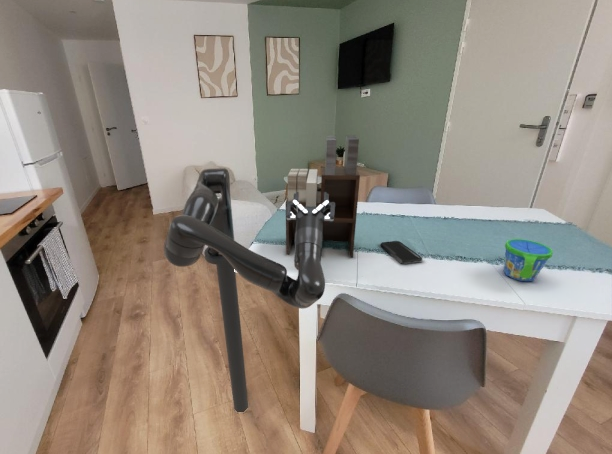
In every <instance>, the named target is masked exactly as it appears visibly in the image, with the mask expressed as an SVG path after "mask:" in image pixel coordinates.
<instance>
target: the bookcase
mask: <svg viewBox="0 0 612 454" xmlns="http://www.w3.org/2000/svg"><path fill="white" fill-rule="evenodd" d="M337 141H338V140H337V137H336V135H326V136H325V162H324V163H325V164H324V166H321V176H320V177H321V180H320V191H318V190H317V199H316V207H318V206H319V205H320V204H322V203H323V202H324V192H327V193H326V194H329V202H335V212H334V222H333V223H330V221H326V220H324V222H323V239H322V242H337V243H338V242H340V243H347V248H348V253H349V254H348V255H349V258H350V259H353V258H354V251H355V250H354V249H355V238H356V237H355V236H356V227H357V226H356V224H357V212H358V204H359V203H358V202H359V191H360V179H361V174H360V172H359V171H358V169H357V168H358V157H359V156H358V155H359V143H360V139H359V138H358V137H357V136H356V135H355V134H354V135H352V134H351V135H346V136H345V144H344V145H345V146H344V163H343V166H336V162H337V159H336V157H337ZM308 173H309V168H291V169H290V170H289V172H288V174H287V197H286V200H285V209H286V208H287V202H288V201H290V202H292V201H293V197H294V193H296V192H299V198H298V203H299V204H301V205H302V206H303V207H305V206H306V182H307V178H308ZM291 212H292V213H293V214H294V215H296V214H297V211H296V210H295V208H294V207H293V208H291ZM328 213H330V208H328V209H327V210H326V211H325V212H324V215H325V216H327V214H328ZM296 222H297V221H296V220H291V221H290V222H288V221H287V218H286V217H285V253H286V254H285V255H290V252H291V249H292V248H291V247H292V243H293V241H295V233H296ZM321 257H323V247H322V248H321Z"/></svg>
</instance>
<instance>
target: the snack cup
mask: <svg viewBox="0 0 612 454" xmlns="http://www.w3.org/2000/svg"><path fill="white" fill-rule="evenodd" d="M504 248H505V253H504V262H503V272H504V274H505V276H507V277H510V278H512V279H513V280H517V281H518V282H533V281H535V280H536V278H537V277H538V276H539V274H540V273H541V271H542V269H543V268H544V266H545V265H546V263H547V261H548V260H549V259H551V258H552V257H553V253H554V251H553V249H552V248H551V247H549V246H548V245H545V244H544V243H541V242H537V241H534V240H531V239H524V238H523V239H522V238H512V239H508V240H506V242H505V243H504Z"/></svg>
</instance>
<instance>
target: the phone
mask: <svg viewBox="0 0 612 454" xmlns="http://www.w3.org/2000/svg"><path fill="white" fill-rule="evenodd" d="M380 247H381V248H382V249H384V250H385V251H386V253H387V254H388V255H390V256H392V258H394V259H395V260H396V261H397V262H398V263H400V264H401V265H409V264H410V265H411V264H417V263H418V264H419V263H423V257H422V256H421V255H419V254H418V253H416V252H415V251H414V250H412V249H411V248H410V247H408V246H407V245H406V244H404V243H403V242H401V241H399V240H393V241H392V240H391V241H383V242H381V243H380Z"/></svg>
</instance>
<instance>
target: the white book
mask: <svg viewBox="0 0 612 454" xmlns="http://www.w3.org/2000/svg"><path fill="white" fill-rule="evenodd" d="M318 172H319V171H318V169H317V168H308V178H307V182H306V206H309V207H312V206H316V199H317V191H318Z"/></svg>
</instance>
